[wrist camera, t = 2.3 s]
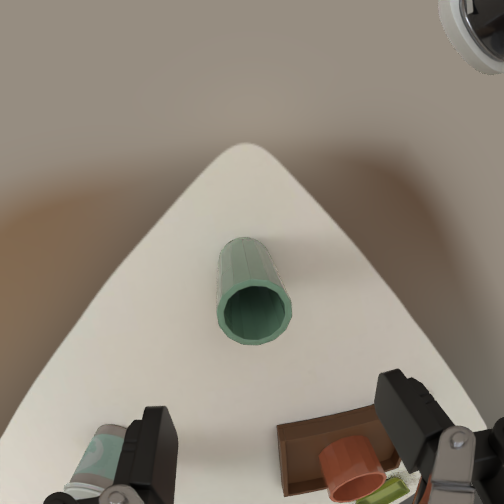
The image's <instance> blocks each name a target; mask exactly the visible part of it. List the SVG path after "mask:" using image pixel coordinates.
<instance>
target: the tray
mask: <svg viewBox="0 0 504 504" xmlns="http://www.w3.org/2000/svg"><path fill="white" fill-rule="evenodd" d="M277 434H278V446H279V458H280V470H281V482H282V488H283V493H284V497H287V496H293V495H299V494H304V493H309V492H314V491H319V490H323V489H327V488H326V485H325V482H324V478H323V475H322V472H321V469H320V465H319V462H318V458H319V455H320V453H321V452H322V450H323V449H324V448H326V447H327V446H328V445H330V444H331V443H333V442H335V441H337V440H339V439H342V438H345V437H349V436H364V437H367V438H368V439H369V441H370V443H371V445H372V447H373V449H374V451H375V453H376V455H377V457H378V459H379V462H380V464H381V466H382V468H383V470H384V472H387V471H390V470H393V469H396V468H398V467H399V465H400V462H401V458H400V456H399V454H398V452H397V451H396V449H395V447H394V445H393V443H392V441H391V440H390V438H389V436H388V434H387V432H386V431H385V429H384V427H383V425H382V423H381V422H380V420H379V418H378V416H377V414H376V411H375V406H374V405H370V406H367V407H363V408H359V409H355V410H351V411H347V412H343V413H339V414H334V415H330V416H325V417H320V418H316V419H311V420H305V421H300V422H294V423H288V424H282V425H277Z"/></svg>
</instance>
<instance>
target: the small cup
mask: <svg viewBox="0 0 504 504" xmlns="http://www.w3.org/2000/svg"><path fill="white" fill-rule="evenodd" d="M216 312H217V318H218V324H219V326H220V328H221V329H222V330H223V332H224V333H225V334H226V335H227V337H229V338H230V339H232V340H234V341H236V342H238V343H240V344H243V345H261V344H264V343H267V342H270V341H273V340H275V339H276V338H277V337H278V336H279V335H280V334H282V333H283V332H284V331H285V330H286V328H287V326H288V324H289V322H290V320H291V317H292V305H291V300H290V298H289V295H288V293H287V291H286V289H285V287H284V284H283V282H282V280H281V278H280V276H279V273H278V271H277V269H276V267H275V265H274V263H273V260H272V258H271V256H270V254H269V253H268V251H267V249H266V247H265V246H264V245H263V244H262V243H261V242H259V241H257V240H255V239H252V238H246V237H244V238H237V239H235V240H232V241H231V242H229V243H228V244H227V245H226V246H225V247H224V248H223V249H222V251H221V253H220V256H219V261H218V279H217V311H216Z"/></svg>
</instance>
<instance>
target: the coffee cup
mask: <svg viewBox="0 0 504 504" xmlns="http://www.w3.org/2000/svg"><path fill="white" fill-rule="evenodd" d="M126 430H127V429H125V428H123V427H120V426H116V425H103V426H101V427H99V428H98V429H97V431H96V433H95V435H94V437H93V438H92V440H91V442H90V444H89V446H88V448H87V449H86V451H85V453H84V455H83V457H82V459H81V461H80V463H79V465H78V467H77V468H76V470H75V472H74V474H73V476H72V478H71V480H70V482H69V483H68V484H66V485H65V486H64V493H67V494H69V495H71V496H72V497H73V498H74V499H75V500H78V499H86V498H93V497H97V496H100V494H101V493H102V492H103V490H105V489H106V488H107V487H109V486H112V484H113V481H114V477H115V473H116V469H117V465H118V461H119V457H120V453H121V451H122V445H123V442H124V437H125V433H126Z"/></svg>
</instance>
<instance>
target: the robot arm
mask: <svg viewBox="0 0 504 504" xmlns="http://www.w3.org/2000/svg"><path fill="white" fill-rule="evenodd" d="M459 10H460V14H461V17H462V20H463V23H464V25H465V27H466V29H467V31H468V33H469V35H470V36H471V38H472V39H473V41H474V42H475V43H476V45H477V46H478V47H479V48H480V49H481V50H482V51H483V53H485V54H486V55H487V56H488V57H489V58H491V59H493V60H495V61H497V62H504V0H459ZM374 406H375V411H376V414H377V416H378V418H379V420H380V422H381V423H382V425H383V427H384V429H385V431H386V432H387V434H388V436H389V438H390V440H391V441H392V443H393V445H394V447H395V449H396V451H397V452H398V454H399V456H400V458H401V460H402V462H403V463H404V465H405V467H406V469H407V471H408V473H409V474H411V473H413V472H416V471H418V470H419V471H420V473H421V477H420V480H419V483H418V487H417V490H416V493H415V497H414V500H413V503H412V504H473V502H474V497H475V489H476V491H477V493H478V495H479V497H480V499H481V500H482V502H483V504H504V417H503V418H500V419H499V420H498V421H497V422H496V423H495V425H494V427H493V429H488V430H483V431H478V432H472V431H471V430H470V429H468V428H466V427H463V426H455V425H454V424H453V422H452V421H451V420H450V418H449V417H448V416H447V414H446V413H445V412H444V411H443V409H442V408H441V407H440V405H439V404H438V403H437V401H435V400H434V398H433V396H432V395H431V394H429V391H428V390H427V389H426V387H425V386H424V385H423V384H422V383H421V382H419V381H417V380H416V379H414V378H412V377H411V378H408V379H407V378H406V377H405V375H404V374H403V373H402V372H401V370H400V369H394V370H391V371H387V372H384V373H380V374H379V377H378V382H377V389H376V394H375V400H374ZM177 455H178V436H177V432H176V429H175V427H174V424H173V422H172V419H171V417H170V414H169V412H168V409H167V407H166V406H150V407H145V410H144V414H143V418H142V420H134V421H133V422H132V423H131V425H130V426H129V427H128V428H127V430H126V433H125V437H124V442H123V445H122V451H121V453H120V457H119V461H118V465H117V469H116V473H115V477H114V481H113V484H112V486H109V487H107V488H106V489H105V490H103V492H102V493H101V494H100V496H97V497H93V498H86V499H78V500H75V499H74V498H73V497H72V496H71V495H69V494H67V493H64V492H56V493H53V494H51V495H49V496H48V497H47V498H46V499H45V501H44V503H43V504H174V492H175V479H176V467H177ZM471 482H472V484H473V486H471Z"/></svg>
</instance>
